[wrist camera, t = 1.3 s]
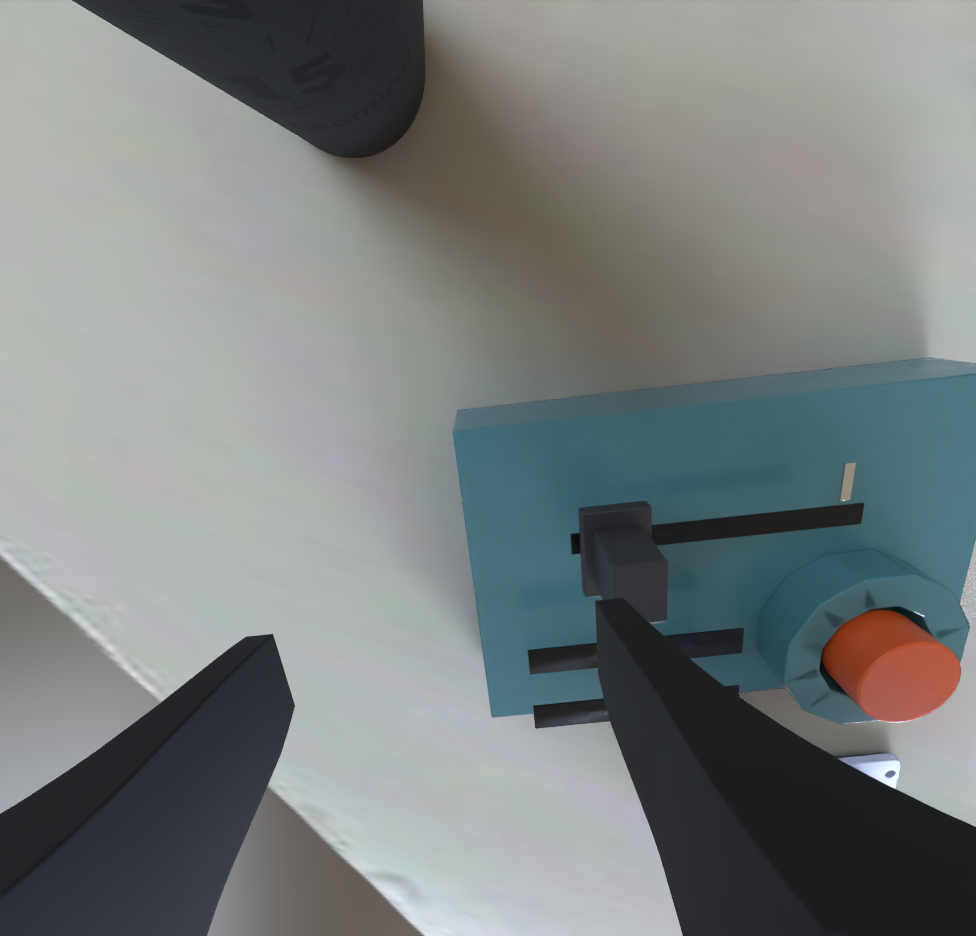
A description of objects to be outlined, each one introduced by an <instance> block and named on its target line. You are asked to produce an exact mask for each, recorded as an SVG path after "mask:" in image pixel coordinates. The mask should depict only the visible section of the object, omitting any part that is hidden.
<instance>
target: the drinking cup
mask: <svg viewBox="0 0 976 936" xmlns="http://www.w3.org/2000/svg"><path fill="white" fill-rule="evenodd" d="M72 1H74V2H76V3H77V4H79V5H81V6H82V7H84V8H86V9H87V10H89V11H91V12H92V13H94V14H96V15H97V16H99V17H101V18H102V19H104V20H106V21H107V22H109V23H111V24H112V25H114V26H116V27H117V28H119V29H121V30H122V31H124V32H126V33H127V34H129V35H131V36H132V37H134V38H136V39H137V40H139V41H141V42H142V43H144V44H146V45H147V46H149V47H151V48H152V49H154V50H156V51H157V52H159V53H161V54H162V55H164V56H166V57H167V58H169V59H171V60H173V61H174V62H176V63H178V64H179V65H181V66H183V67H184V68H186V69H188V70H189V71H191V72H193V73H194V74H196V75H198V76H199V77H201V78H203V79H204V80H206V81H208V82H209V83H211V84H213V85H214V86H216V87H218V88H219V89H221V90H223V91H224V92H226V93H228V94H229V95H231V96H233V97H234V98H236V99H238V100H239V101H241V102H243V103H244V104H246V105H248V106H249V107H251V108H253V109H254V110H256V111H258V112H259V113H261V114H263V115H264V116H266V117H268V118H269V119H271V120H273V121H274V122H276V123H278V124H279V125H281V126H283V127H284V128H286V129H288V130H289V131H291V132H293V133H294V134H296V135H298V136H299V137H301V138H303V139H304V140H306V141H308V142H309V143H311V144H313V145H314V146H316V147H318V148H320V149H322V150H324V151H326V152H328V153H331V154H333V155H337V156H341V157H348V158H360V157H367V156H371V155H374V154H377V153H379V152H382V151H384V150H386V149H387V148H389V147H390V146H392V145H393V144H394V143H396V142H397V141H398V140H399V139H400V138H401V137H402V136H403V135H404V134H405V132H406V131H407V130H408V128H409V127H410V125H411V124H412V122H413V120H414V119H415V116H416V114H417V112H418V109H419V107H420V104H421V100H422V96H423V91H424V84H425V48H424V20H423V0H72Z"/></svg>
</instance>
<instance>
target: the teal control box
mask: <svg viewBox="0 0 976 936" xmlns="http://www.w3.org/2000/svg"><path fill="white" fill-rule="evenodd" d="M453 438H454V445H455V453H456V460H457V467H458V474H459V482H460V489H461V496H462V504H463V511H464V518H465V526H466V533H467V540H468V548H469V555H470V562H471V570H472V577H473V584H474V591H475V599H476V606H477V613H478V621H479V628H480V635H481V643H482V650H483V657H484V665H485V672H486V679H487V686H488V694H489V701H490V708H491V716H492V717H493V718H494V717H504V716H514V715H524V714H534V710H533V706H534V705H544V704H554V703H564V702H573V701H583V700H593V699H603V698H604V697H603V693H602V689H601V685H600V681H599V677H598V668H592V669H582V670H572V671H563V672H553V673H543V674H533V675H530V670H529V660H528V650H531V649H541V648H551V647H560V646H570V645H580V644H589V643H597V635H596V610H595V601H597V600H603V599H602V597H601V596H599V597H589V598H586V597H585V595H584V592H583V589H582V573H581V554H574V555H572V554H571V537H570V534H573V533H579V514H578V509H579V508H580V507H590V506H599V505H608V504H618V503H627V502H636V501H647V502H648V503H649V505H650V506H651V507H652V525H657V524H667V523H676V522H685V521H695V520H704V519H713V518H723V517H732V516H741V515H751V514H760V513H770V512H779V511H788V510H798V509H807V508H816V507H826V506H835V505H844V504H854V503H864V509H863V515H862V522H861V524H856V525H847V526H837V527H828V528H819V529H809V530H800V531H790V532H781V533H771V534H762V535H753V536H743V537H734V538H724V539H715V540H706V541H696V542H687V543H677V544H668V545H658V546H657V548H658V549H659V550H660V552H661V553H662V554H663V556H664V557H665V559H666V560H667V562H668V600H667V621H666V622H661V623H651V625H653V626H654V627H655V628H656V629H657V630H658V631H659V632H660V633H661V634H662V635H663V636H667V635H677V634H686V633H696V632H706V631H715V630H725V629H735V628H744V635H743V648H742V653H739V654H729V655H719V656H709V657H700V658H690V659H691V660H692V661H693V662H695V663H696V664H697V665H698V666H700V667H701V668H702V669H703V670H704V671H706V672H707V673H708V674H709V675H711V676H712V677H713V678H715V679H716V680H717V681H718V682H720V683H721V684H722V685H724V686H731V685H739V693H742V692H752V691H762V690H772V689H781V688H785V689H786V690H787V691H788V693H789V694H790V695H791V696H792V698H793V699H794V700H795V701H796V703H797V704H798V705H799V706H800V708H801V709H802V710H804V711H806V712H808V713H811V714H814V715H817V716H819V717H822V718H825V719H827V720H830V721H833V722H836V723H838V724H849V723H859V722H869V721H879V720H877V719H874V718H872V717H870V716H869V715H867V714H866V713H865V712H864V711H863V710H862V709H861V708H860V707H859V706H858V705H857V704H856V703H855V702H854V701H853V700H852V698H851V697H850V696H849V695H848V694H847V693H846V692H845V691H844V690H843V689H842V688H841V687H840V686H839V685H838V684H837V683H836V681H835V680H834V679H833V678H832V677H831V676H830V675H829V674H828V672H827V671H826V669H825V667H824V663H823V650H824V646H825V645H826V643H827V642H828V641H829V640H830V638H831V637H832V636H833V635H834V633H835V632H836V631H837V630H838V628H839V627H840V626H841V625H843V624H844V623H846V622H848V621H850V620H852V619H854V618H856V617H857V616H859V615H861V614H863V613H865V612H867V611H871V610H890V611H895V612H898V613H900V614H902V615H904V616H906V617H907V618H908V619H910V620H911V621H912V622H914V623H915V624H916V625H918V626H919V627H921V628H922V629H923V630H925V631H926V632H927V633H929V634H930V635H931V636H933V637H934V638H935V639H937V640H938V641H939V642H941V643H942V644H944V645H945V646H946V647H948V648H949V649H950V650H952V652H953V653H954V654H955V655H956V657H957V658H958V660H959V663H960V662H961V658H962V654H963V651H964V647H965V643H966V639H967V636H968V632H969V628H970V626H969V623H968V621H967V618H966V616H965V614H964V612H963V610H962V608H961V606H960V604H959V603H960V600H961V596H962V592H963V588H964V584H965V580H966V576H967V572H968V568H969V564H970V560H971V556H972V552H973V548H974V544H975V540H976V363H969V362H961V361H953V360H945V359H937V358H922V359H913V360H904V361H895V362H886V363H877V364H868V365H859V366H850V367H841V368H832V369H823V370H814V371H805V372H796V373H787V374H778V375H769V376H760V377H751V378H742V379H733V380H724V381H715V382H706V383H697V384H688V385H679V386H670V387H661V388H652V389H643V390H634V391H625V392H616V393H607V394H598V395H589V396H580V397H571V398H562V399H553V400H544V401H535V402H526V403H517V404H508V405H499V406H490V407H481V408H472V409H463V410H457V413H456V418H455V423H454V429H453ZM851 462H855V463H856V465H855V472H854V478H853V485H852V491H851V498H850V500H847V501H839V497H840V490H841V483H842V476H843V469H844V463H851Z"/></svg>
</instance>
